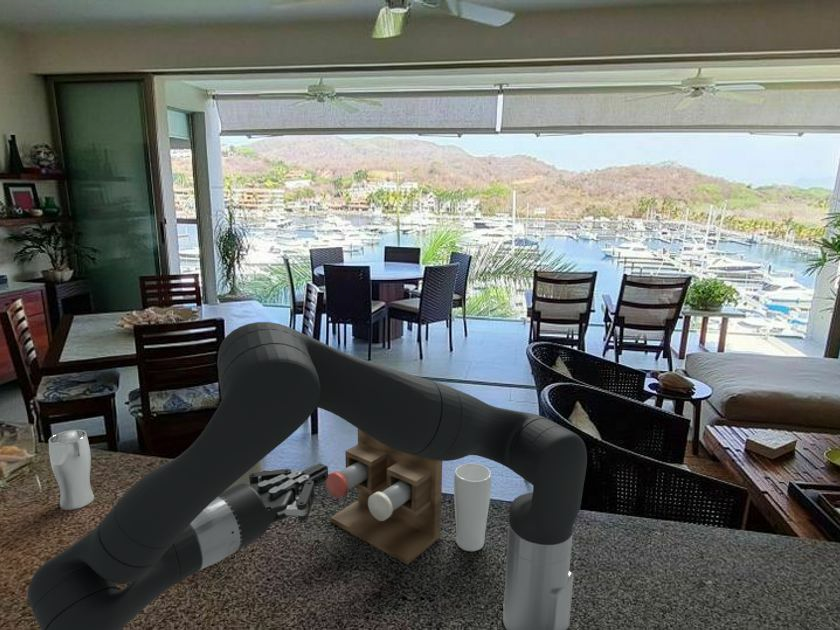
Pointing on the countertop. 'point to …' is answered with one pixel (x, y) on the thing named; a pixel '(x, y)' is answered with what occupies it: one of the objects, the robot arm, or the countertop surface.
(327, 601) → the countertop surface
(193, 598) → the countertop surface
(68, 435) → the beer glass
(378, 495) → the ivory button
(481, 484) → the drinking glass
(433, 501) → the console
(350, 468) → the red button
